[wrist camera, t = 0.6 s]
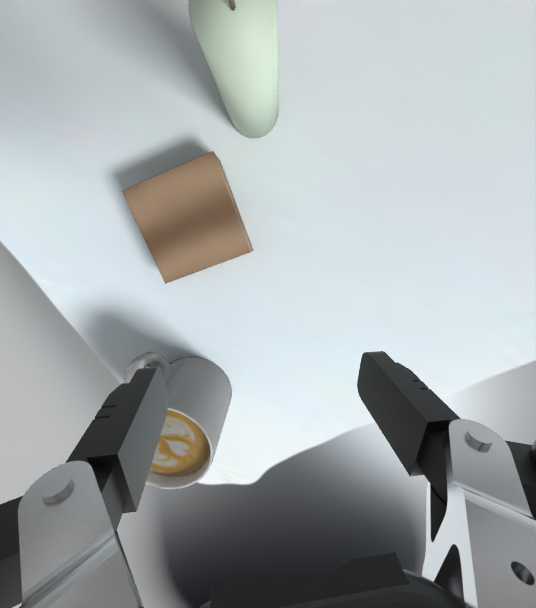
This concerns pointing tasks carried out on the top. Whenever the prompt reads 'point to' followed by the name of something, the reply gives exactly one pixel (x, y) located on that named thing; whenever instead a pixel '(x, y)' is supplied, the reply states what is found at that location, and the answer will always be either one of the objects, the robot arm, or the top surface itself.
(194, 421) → the coffee mug
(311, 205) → the top surface
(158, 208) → the walnut block
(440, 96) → the top surface
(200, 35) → the candle
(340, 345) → the top surface
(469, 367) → the top surface
